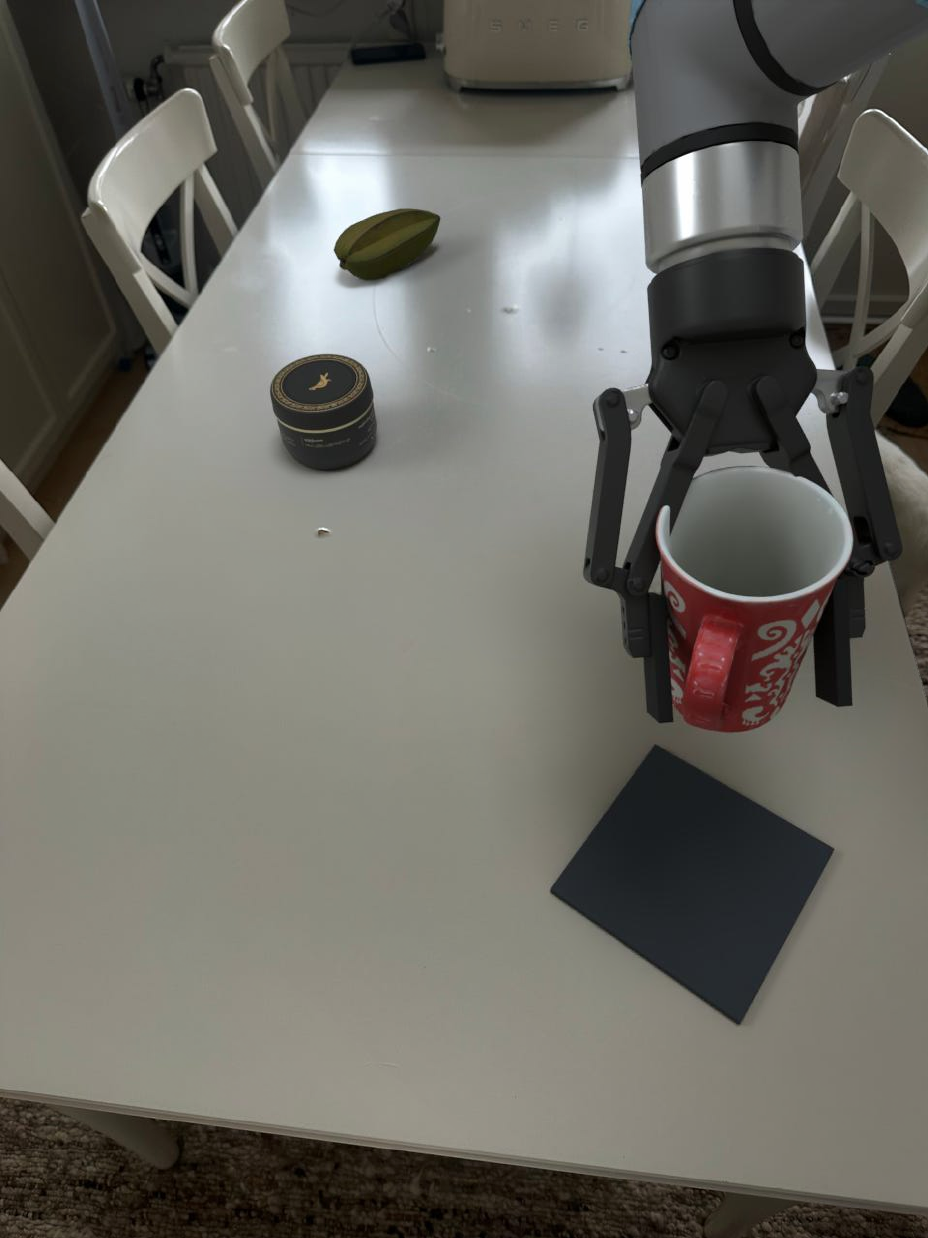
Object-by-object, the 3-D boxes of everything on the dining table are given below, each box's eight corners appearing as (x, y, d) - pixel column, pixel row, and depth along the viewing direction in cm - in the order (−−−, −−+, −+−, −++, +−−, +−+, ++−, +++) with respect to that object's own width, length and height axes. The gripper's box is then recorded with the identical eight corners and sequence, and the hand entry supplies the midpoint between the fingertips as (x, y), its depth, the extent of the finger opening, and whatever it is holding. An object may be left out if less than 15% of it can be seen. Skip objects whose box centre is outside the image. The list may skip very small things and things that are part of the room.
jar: (384, 411, 93) (374, 349, 87) (376, 474, 86) (365, 412, 80) (292, 414, 93) (276, 352, 87) (277, 476, 87) (259, 414, 81)
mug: (675, 603, 56) (690, 446, 45) (819, 645, 53) (873, 487, 42) (603, 765, 50) (600, 628, 39) (761, 824, 46) (806, 693, 36)
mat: (832, 852, 60) (834, 848, 59) (738, 1025, 53) (740, 1023, 52) (654, 747, 65) (655, 743, 65) (549, 892, 59) (550, 888, 58)
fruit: (355, 242, 116) (348, 193, 111) (443, 246, 114) (440, 195, 109) (334, 288, 109) (325, 238, 104) (428, 292, 107) (423, 241, 102)
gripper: (895, 269, 47) (909, 678, 49) (505, 303, 47) (538, 712, 49) (980, 220, 39) (991, 705, 42) (516, 260, 39) (554, 745, 42)
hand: (746, 708), depth 46 cm, fingers closed on mug, 8 cm apart
